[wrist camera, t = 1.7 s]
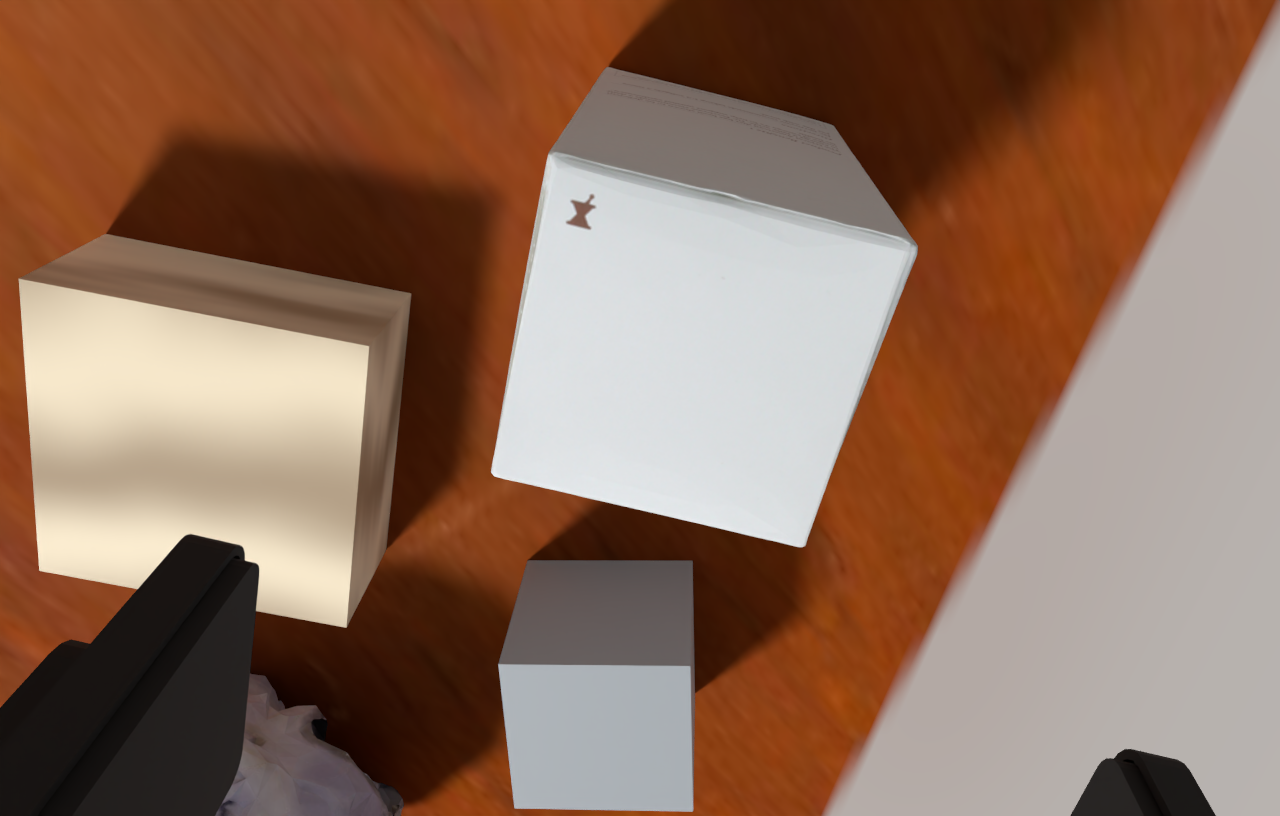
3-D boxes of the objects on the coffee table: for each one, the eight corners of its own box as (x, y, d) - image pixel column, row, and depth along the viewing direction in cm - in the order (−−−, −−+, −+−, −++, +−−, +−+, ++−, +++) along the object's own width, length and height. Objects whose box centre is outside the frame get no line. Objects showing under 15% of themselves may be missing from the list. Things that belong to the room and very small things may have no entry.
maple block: (109, 231, 34) (18, 278, 30) (413, 290, 34) (369, 346, 30) (117, 494, 38) (39, 570, 34) (388, 545, 39) (346, 627, 34)
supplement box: (551, 292, 34) (473, 479, 22) (604, 59, 31) (544, 137, 19) (772, 349, 34) (806, 561, 23) (846, 124, 31) (928, 238, 20)
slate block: (528, 559, 38) (498, 664, 33) (692, 559, 38) (690, 666, 32) (540, 690, 41) (514, 808, 35) (695, 692, 40) (693, 811, 35)
